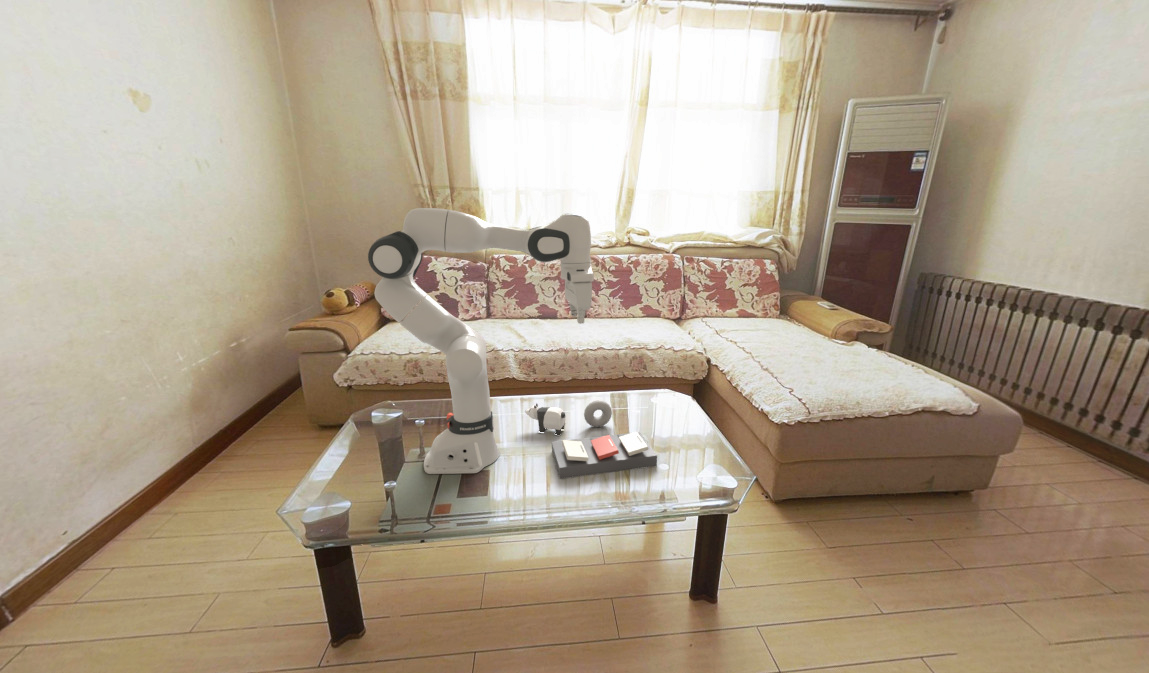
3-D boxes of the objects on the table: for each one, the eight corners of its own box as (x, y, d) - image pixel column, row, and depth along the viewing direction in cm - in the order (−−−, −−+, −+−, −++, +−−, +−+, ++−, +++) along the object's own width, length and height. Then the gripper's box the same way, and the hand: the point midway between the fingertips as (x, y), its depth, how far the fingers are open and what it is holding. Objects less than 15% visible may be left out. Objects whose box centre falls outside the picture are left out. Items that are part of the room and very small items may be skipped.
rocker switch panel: (559, 478, 118) (559, 465, 117) (552, 451, 133) (551, 439, 131) (656, 466, 124) (657, 453, 123) (639, 441, 138) (639, 429, 137)
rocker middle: (599, 459, 120) (598, 456, 120) (591, 443, 129) (590, 440, 129) (618, 453, 121) (618, 449, 121) (609, 437, 130) (608, 434, 130)
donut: (585, 430, 146) (585, 403, 144) (583, 425, 150) (582, 399, 147) (613, 427, 148) (613, 401, 146) (610, 423, 151) (610, 397, 149)
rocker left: (567, 459, 118) (568, 455, 118) (561, 443, 127) (562, 439, 127) (587, 461, 120) (588, 457, 119) (580, 444, 129) (581, 441, 128)
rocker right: (629, 456, 122) (628, 452, 121) (619, 440, 131) (618, 436, 131) (648, 449, 123) (647, 446, 122) (637, 434, 132) (636, 431, 131)
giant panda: (568, 429, 147) (567, 404, 145) (562, 437, 142) (562, 411, 139) (529, 424, 151) (528, 400, 149) (523, 431, 146) (521, 406, 144)
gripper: (559, 269, 130) (560, 313, 133) (572, 276, 110) (573, 328, 114) (579, 268, 131) (580, 312, 134) (595, 275, 111) (596, 326, 115)
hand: (577, 319), depth 124 cm, fingers open, 8 cm apart
